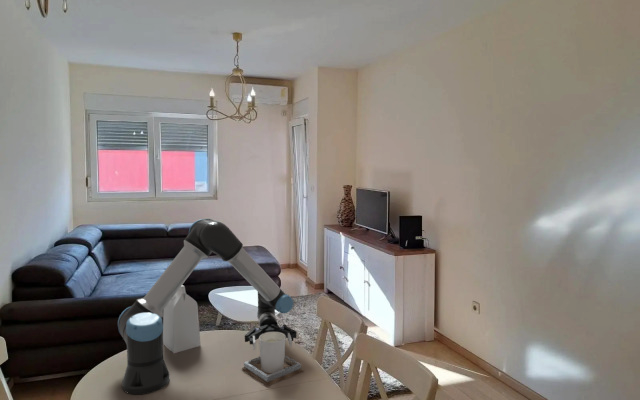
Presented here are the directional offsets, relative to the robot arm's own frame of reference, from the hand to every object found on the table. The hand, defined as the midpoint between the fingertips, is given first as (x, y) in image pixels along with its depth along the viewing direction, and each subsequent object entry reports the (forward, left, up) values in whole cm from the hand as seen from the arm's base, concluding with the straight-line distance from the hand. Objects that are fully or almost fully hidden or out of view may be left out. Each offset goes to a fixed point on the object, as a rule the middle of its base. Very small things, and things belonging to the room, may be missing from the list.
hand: (272, 344), depth 158 cm
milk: (-16, +44, -9) cm, 47 cm away
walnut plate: (-1, -1, -9) cm, 9 cm away
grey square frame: (-1, -1, -9) cm, 9 cm away
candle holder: (-1, -2, -8) cm, 9 cm away
